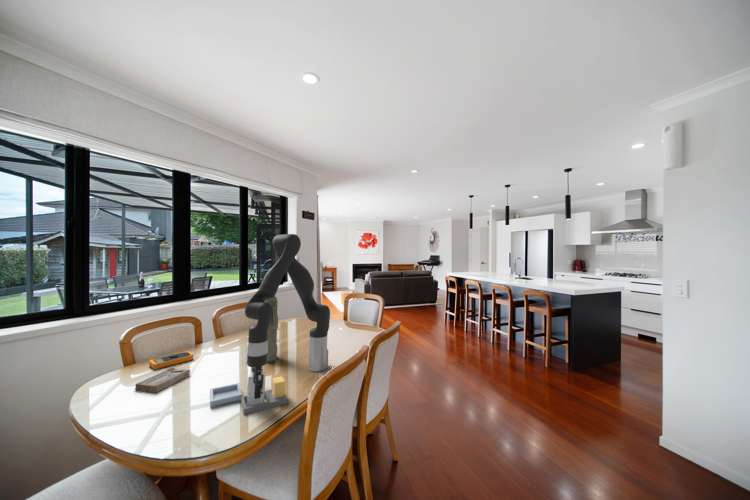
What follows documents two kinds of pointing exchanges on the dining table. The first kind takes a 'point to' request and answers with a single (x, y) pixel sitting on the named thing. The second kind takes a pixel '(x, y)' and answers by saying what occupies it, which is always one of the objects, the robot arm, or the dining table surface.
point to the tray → (225, 395)
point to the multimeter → (170, 360)
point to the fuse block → (268, 397)
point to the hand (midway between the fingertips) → (256, 394)
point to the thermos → (272, 331)
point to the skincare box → (250, 392)
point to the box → (162, 380)
